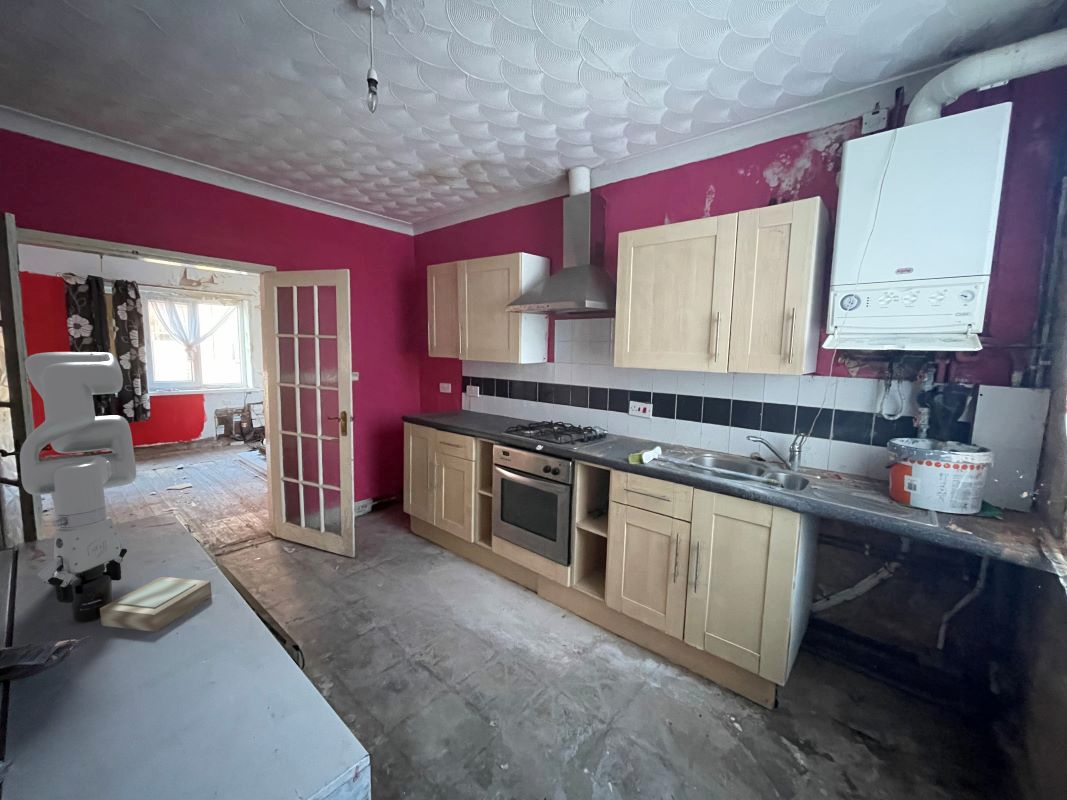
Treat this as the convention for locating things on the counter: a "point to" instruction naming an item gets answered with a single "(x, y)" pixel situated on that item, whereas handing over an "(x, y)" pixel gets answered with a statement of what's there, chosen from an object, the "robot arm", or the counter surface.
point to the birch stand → (155, 604)
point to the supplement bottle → (91, 594)
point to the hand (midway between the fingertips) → (91, 590)
